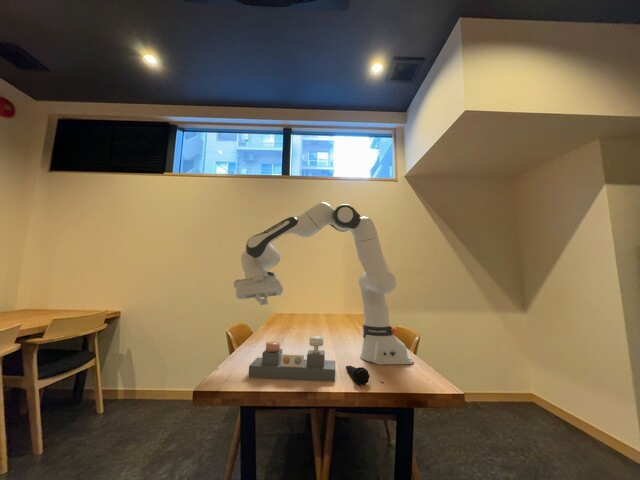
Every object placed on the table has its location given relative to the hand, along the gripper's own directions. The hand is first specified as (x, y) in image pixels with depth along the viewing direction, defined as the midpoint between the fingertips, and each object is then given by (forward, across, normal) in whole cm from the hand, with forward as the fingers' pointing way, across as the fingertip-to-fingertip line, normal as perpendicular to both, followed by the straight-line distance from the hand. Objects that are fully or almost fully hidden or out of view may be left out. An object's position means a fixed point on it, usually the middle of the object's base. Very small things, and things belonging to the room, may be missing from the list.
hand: (264, 304), depth 114 cm
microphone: (+39, +23, -5) cm, 46 cm away
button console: (+30, +4, +3) cm, 30 cm away
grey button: (+28, +11, -5) cm, 30 cm away
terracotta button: (+23, -2, +3) cm, 23 cm away
